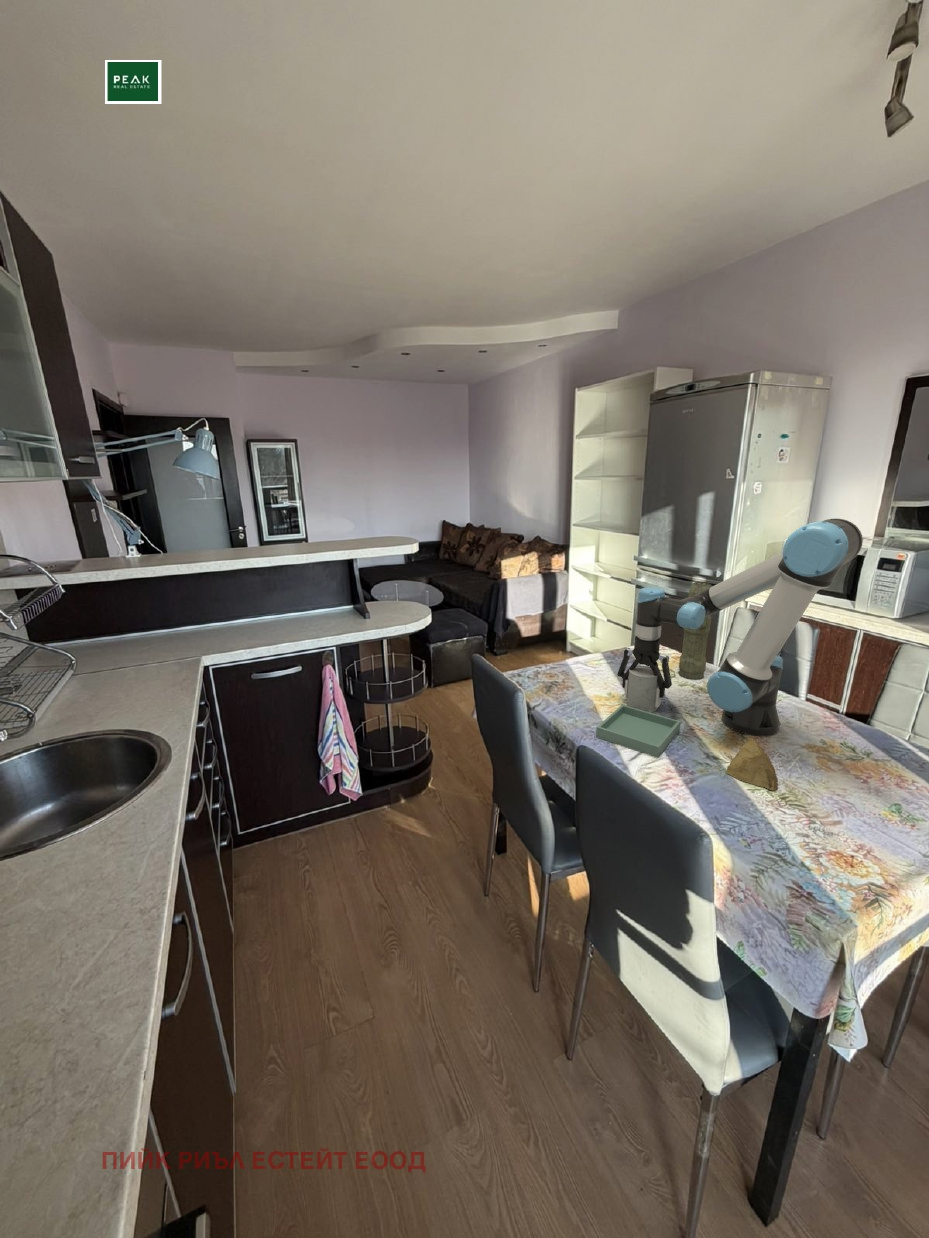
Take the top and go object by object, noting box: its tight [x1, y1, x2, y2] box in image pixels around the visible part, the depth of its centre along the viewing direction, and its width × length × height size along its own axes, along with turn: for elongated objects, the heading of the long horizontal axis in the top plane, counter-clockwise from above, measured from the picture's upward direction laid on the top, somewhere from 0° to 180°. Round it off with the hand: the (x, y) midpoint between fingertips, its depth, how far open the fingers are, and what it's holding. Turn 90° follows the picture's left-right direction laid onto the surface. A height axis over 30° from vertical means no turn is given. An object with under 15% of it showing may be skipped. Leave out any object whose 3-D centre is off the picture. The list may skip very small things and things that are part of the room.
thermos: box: [678, 581, 712, 681], centre depth 183 cm, size 9×12×35 cm
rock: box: [724, 738, 779, 791], centre depth 125 cm, size 11×9×10 cm
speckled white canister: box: [625, 665, 659, 713], centre depth 164 cm, size 10×10×12 cm
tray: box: [595, 704, 681, 759], centre depth 149 cm, size 18×18×3 cm
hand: (641, 701), depth 166 cm, fingers closed on speckled white canister, 9 cm apart
